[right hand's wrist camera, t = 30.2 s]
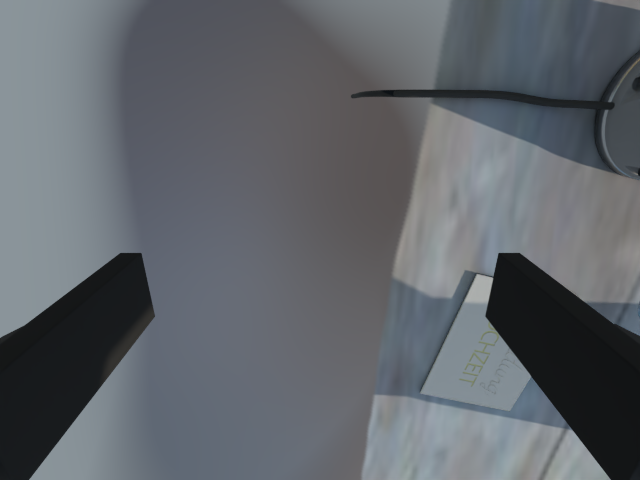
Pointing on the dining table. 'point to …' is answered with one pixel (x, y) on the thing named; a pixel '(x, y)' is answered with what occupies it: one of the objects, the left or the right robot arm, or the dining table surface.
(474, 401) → the invitation card
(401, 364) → the dining table surface
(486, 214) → the dining table surface
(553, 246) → the dining table surface
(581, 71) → the dining table surface
